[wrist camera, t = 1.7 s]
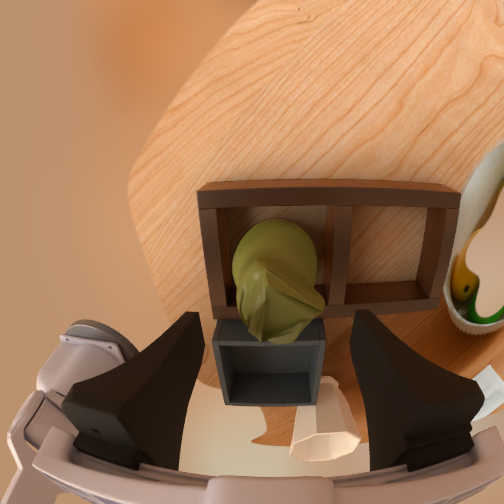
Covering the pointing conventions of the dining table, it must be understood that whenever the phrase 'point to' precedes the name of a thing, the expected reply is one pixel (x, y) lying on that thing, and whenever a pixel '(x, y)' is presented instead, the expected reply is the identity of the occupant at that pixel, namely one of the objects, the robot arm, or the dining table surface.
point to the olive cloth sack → (276, 281)
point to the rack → (335, 239)
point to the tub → (268, 366)
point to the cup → (325, 426)
